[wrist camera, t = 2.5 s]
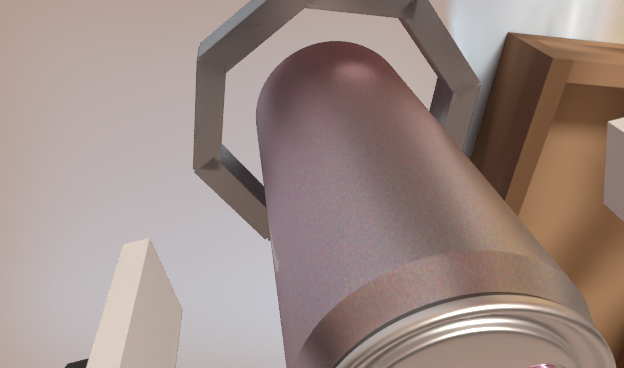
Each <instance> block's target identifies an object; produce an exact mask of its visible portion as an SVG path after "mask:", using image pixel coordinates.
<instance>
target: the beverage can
mask: <svg viewBox="0 0 624 368" xmlns="http://www.w3.org/2000/svg"><path fill="white" fill-rule="evenodd" d="M256 125H257V133H258V141H259V149H260V157H261V165H262V173H263V181H264V189H265V197H266V205H267V213H268V222H269V230H270V238H271V245H272V253H273V262H274V269H275V278H276V286H277V294H278V302H279V310H280V318H281V326H282V334H283V342H284V350H285V358H286V366H287V368H616V363H615V360H614V356H613V354H612V352H611V349H610V347H609V345H608V344H607V342H606V340H605V339H604V337H603V336H602V335H601V334H600V332H599V331H598V330H597V329H596V327H595V326H594V323H593V320H592V317H591V313H590V310H589V307H588V305H587V303H586V300H585V299H584V297H583V295H582V293H581V292H580V291H579V289H578V288H577V287H576V286H575V284H574V283H573V282H572V281H571V280H570V278H569V277H568V276H567V275H566V274H565V272H564V271H563V270H562V269H561V268H560V267H559V265H558V264H557V263H556V262H555V261H554V259H553V258H552V257H551V256H550V255H549V253H548V252H547V251H546V250H545V249H544V247H543V246H542V245H541V244H540V243H539V242H538V240H537V239H536V238H535V237H534V236H533V234H532V233H531V232H530V231H529V230H528V228H527V227H526V226H525V225H524V224H523V222H522V221H521V220H520V219H519V218H518V217H517V215H516V214H515V213H514V212H513V211H512V209H511V208H510V207H509V206H508V205H507V203H506V202H505V201H504V200H503V199H502V198H501V196H500V195H499V194H498V193H497V192H496V190H495V189H494V188H493V187H492V186H491V184H490V183H489V182H488V181H487V180H486V178H485V177H484V176H483V175H482V174H481V173H480V171H479V170H478V169H477V168H476V167H475V165H474V164H473V163H472V162H471V161H470V159H469V158H468V157H467V156H466V155H465V153H464V152H463V151H462V150H461V149H460V148H459V146H458V145H457V144H456V143H455V142H454V140H453V139H452V138H451V137H450V136H449V134H448V133H447V132H446V131H445V130H444V128H443V127H442V126H441V125H440V124H439V123H438V121H437V120H436V119H435V118H434V117H433V115H432V114H431V113H430V112H429V111H428V109H427V108H426V107H425V106H424V105H423V104H422V102H421V101H420V100H419V99H418V98H417V97H416V95H415V94H414V93H413V92H412V90H411V89H410V88H409V87H408V86H407V84H406V83H405V82H404V81H403V80H402V79H401V77H400V76H399V75H398V74H397V73H396V72H395V70H394V69H393V68H392V67H391V66H390V64H389V63H388V62H387V61H386V60H385V59H384V58H382V57H381V56H380V55H379V54H377V53H376V52H374V51H372V50H370V49H368V48H366V47H364V46H361V45H358V44H354V43H350V42H341V41H330V42H323V43H317V44H314V45H311V46H308V47H305V48H303V49H301V50H299V51H297V52H295V53H293V54H292V55H290V56H289V57H287V58H286V59H285V60H284V61H282V62H281V63H280V64H279V65H278V66H277V67H276V68H275V69H274V71H273V72H272V73H271V74H270V76H269V77H268V79H267V81H266V82H265V84H264V86H263V88H262V91H261V93H260V96H259V99H258V103H257V109H256Z"/></svg>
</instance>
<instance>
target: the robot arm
mask: <svg viewBox="0 0 624 368" xmlns="http://www.w3.org/2000/svg"><path fill="white" fill-rule="evenodd" d="M603 204H605V205H606V206H607V207H608V208H609V209H610V210H611V211H612V212H614V213H615V214H616V215H617V216H618V217H619V218H620V219H621V220H622V221H624V117H623V118H620V119H616V120H612V121H608V123H607V143H606V162H605V181H604V201H603ZM181 318H182V308H181V306H180V304H179V301H178V299H177V297H176V295H175V293H174V290H173V288H172V286H171V284H170V282H169V279H168V277H167V275H166V273H165V271H164V268H163V266H162V264H161V262H160V260H159V257H158V255H157V253H156V251H155V248H154V246H153V244H152V242H151V239H150V238H147V239H143V240H139V241H135V242H131V243H127V244H124V245H123V247H122V250H121V253H120V256H119V260H118V263H117V267H116V270H115V273H114V276H113V280H112V283H111V286H110V290H109V293H108V296H107V300H106V303H105V306H104V310H103V313H102V317H101V320H100V323H99V326H98V330H97V333H96V336H95V340H94V343H93V346H92V350H91V353H90V356H89V359H85V360H81V361H78V362H73V363H69V364H67V366H66V367H65V368H175V367H176V359H177V351H178V343H179V334H180V326H181Z"/></svg>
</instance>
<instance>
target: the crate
mask: <svg viewBox="0 0 624 368" xmlns="http://www.w3.org/2000/svg"><path fill="white" fill-rule="evenodd" d="M623 117H624V45H623V44H613V43H604V42H595V41H585V40H576V39H566V38H557V37H548V36H538V35H529V34H519V33H510V32H508V36H507V39H506V42H505V46H504V49H503V52H502V56H501V59H500V63H499V66H498V69H497V73H496V76H495V80H494V83H493V86H492V90H491V93H490V97H489V100H488V103H487V107H486V110H485V113H484V117H483V120H482V124H481V127H480V130H479V134H478V137H477V141H476V144H475V147H474V151H473V154H472V157H471V162H472V163H473V164H474V165H475V167H476V168H477V169H478V170H479V171H480V173H481V174H482V175H483V176H484V177H485V178H486V180H487V181H488V182H489V183H490V184H491V186H492V187H493V188H494V189H495V190H496V192H497V193H498V194H499V195H500V196H501V198H502V199H503V200H504V201H505V202H506V203H507V205H508V206H509V207H510V208H511V209H512V211H513V212H514V213H515V214H516V215H517V217H518V218H519V219H520V220H521V221H522V222H523V224H524V225H525V226H526V227H527V228H528V230H529V231H530V232H531V233H532V234H533V236H534V237H535V238H536V239H537V240H538V242H539V243H540V244H541V245H542V246H543V247H544V249H545V250H546V251H547V252H548V253H549V255H550V256H551V257H552V258H553V259H554V261H555V262H556V263H557V264H558V265H559V267H560V268H561V269H562V270H563V271H564V272H565V274H566V275H567V276H568V277H569V278H570V280H571V281H572V282H573V283H574V284H575V286H576V287H577V288H578V289H579V291H580V292H581V293H582V295H583V297H584V299H585V300H586V303H587V305H588V307H589V310H590V313H591V317H592V320H593V323H594V326H595V327H596V329H597V330H598V331H599V332H600V334H601V335H602V336H603V337H604V339H605V340H606V342H607V344H608V345H609V347H610V349H611V352H612V354H613V356H614V360H615V363H616V368H624V221H622V220H621V219H620V218H619V217H618V216H617V215H616V214H615V213H614V212H612V211H611V210H610V209H609V208H608V207H607V206H606V205H605V204H603V201H604V181H605V162H606V143H607V123H608V121H612V120H616V119H620V118H623Z"/></svg>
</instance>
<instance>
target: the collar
mask: <svg viewBox="0 0 624 368" xmlns="http://www.w3.org/2000/svg"><path fill="white" fill-rule="evenodd" d="M304 8H310V9H320V10H330V11H338V12H348V13H358V14H367V15H376V16H386V17H394V18H399V20H400V21H401V23H402V24H403V26H404V27H405V29H406V30H407V32H408V33H409V35H410V36H411V38H412V39H413V41H414V42H415V44H416V45H417V47H418V48H419V49H420V51H421V53H422V54H423V55H424V57H425V58H426V60H427V61H428V63H429V64H430V66H431V67H432V69H433V70H434V72H435V73H436V75H437V76H438V78H437V82H436V87H435V91H434V95H433V99H432V103H431V107H430V111H429V112H430V113H431V114H432V115H433V117H434V118H435V119H436V120H437V121H438V123H439V124H440V125H441V126H442V127H443V128H444V130H445V131H446V132H447V133H448V134H449V136H450V137H451V138H452V139H453V140H454V142H455V143H456V144H457V145H458V146H459V148H460V149H461V150H462V149H463V146H464V142H465V139H466V135H467V132H468V128H469V125H470V121H471V118H472V114H473V111H474V107H475V104H476V100H477V97H478V93H479V90H480V85H479V83H480V81H479V80H478V78H477V76H476V75H475V73H474V72H473V70H472V68H471V67H470V65H469V64H468V62H467V61H466V59H465V57H464V56H463V54H462V53H461V51H460V49H459V48H458V46H457V45H456V43H455V42H454V40H453V38H452V37H451V35H450V34H449V32H448V30H447V29H446V27H445V26H444V24H443V23H442V21H441V19H440V18H439V17H438V15H437V13H436V12H435V10H434V8H433V7H432V5H431V4H430V2H429V0H251V1H250V2H249V3H247V4H246V5H245V6H244V7H243V8H241V9H240V10H239V11H238V12H237V13H236V14H235V15H233V16H232V17H231V18H230V19H229V20H227V21H226V22H225V23H224V24H223V25H222V26H220V27H219V28H218V29H217V30H216V31H214V32H213V33H212V34H211V35H210V36H209V37H207V38H206V39H205V40H204V41H203V42H202V43H201V44H200V47H199V50H198V56H197V71H196V100H195V101H196V102H195V129H194V130H195V131H194V158H193V159H194V160H193V169H195V173H196V174H197V175H198V176H199V177H200V178H201V179H202V180H203V181H204V182H205V183H206V184H207V185H208V186H210V187H211V188H212V189H213V190H214V191H215V192H216V193H217V194H218V195H219V196H220V197H221V198H222V199H223V200H224V201H225V202H226V203H227V204H229V205H230V206H231V207H232V208H233V209H234V210H235V211H236V212H237V213H238V214H239V215H240V216H241V217H242V218H243V219H245V221H247V222H248V223H249V224H250V225H251V226H252V227H253V228H254V229H255V230H256V231H257V232H258V233H259V234H260V235H261V236H262V237H263V238H264V239H266V238H268V240H270V241H271V238H270V230H269V222H268V213H267V205H266V197H265V189H264V186H263V185H262V184H261V183H260V182H259V181H258V180H257V179H256V178H255V177H254V176H253V175H252V174H251V173H250V172H249V171H248V170H247V169H246V168H245V167H244V166H243V165H242V164H241V163H240V162H239V161H238V160H237V159H236V158H235V157H234V156H233V155H232V154H231V153H230V152H229V151H228V150H227V149H226V148H225V147H224V146H223V145H222V144H221V143H222V126H223V108H224V92H225V76H226V72H228V71H229V70H230V69H231V68H232V67H234V66H235V65H236V64H237V63H238V62H240V61H241V60H242V59H243V58H244V57H246V56H247V55H248V54H249V53H250V52H252V51H253V50H254V49H255V48H257V47H258V46H259V45H260V44H261V43H263V42H264V41H265V40H266V39H268V38H269V37H270V36H271V35H272V34H274V33H275V32H276V31H277V30H278V29H279V28H281V27H282V26H283V25H284V24H286V23H287V22H288V21H289V20H291V19H292V18H293V17H294V16H295V15H297V14H298V13H299V12H300V11H301V10H302V9H304Z"/></svg>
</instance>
